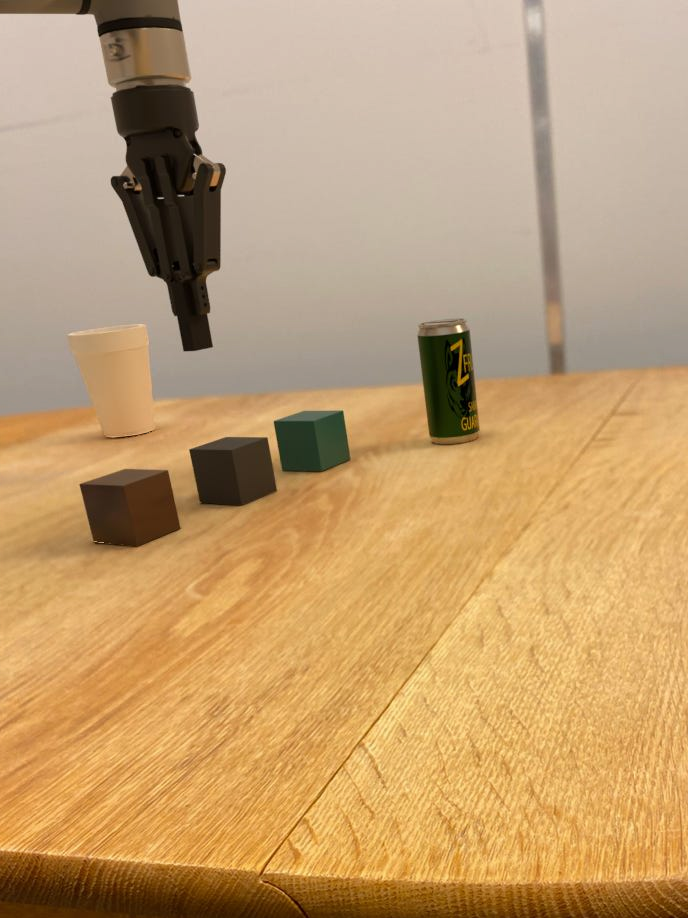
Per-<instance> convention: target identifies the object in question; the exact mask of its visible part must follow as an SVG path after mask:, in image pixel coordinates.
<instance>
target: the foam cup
mask: <svg viewBox="0 0 688 918" xmlns="http://www.w3.org/2000/svg"><path fill="white" fill-rule="evenodd" d="M147 329H148V328H147V325H146V324H143V323H137V324H124V325H114V326H106V327H98V328H91V329H86V330H80V331H74V332H71V333H68V334H67V335H66V336H67V340H68V344H69V345H68V346H69V348H70V353H71V355H73V357H74V359H75V362H76V365H77V367H78V370H79V373H80V375H81V378H82V381H83V383H84V386H85V388H86V389H85V390H87V394H88V396H89V399H90V402H91V405H92V407H93V411H94V412H95V415H96V418H97V420H98V423H99V426H100V429H101V431H102V433H103V436H104V435H106V436H125V435H132V434H139V433H143V432H147V431H150V430H153V429H154V428H155V429H156V427H155V424H156V421H155V412H154V411H155V408H154V397H153V387H152V375H151V361H150V351H149V350H150V349H149V345H150V339H149V333H148V330H147Z"/></svg>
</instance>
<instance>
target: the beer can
mask: <svg viewBox="0 0 688 918" xmlns="http://www.w3.org/2000/svg"><path fill="white" fill-rule="evenodd" d="M417 324H418V325H417V326H418V331H417V334H416V336H417V343H418V352H419V361H420V369H421V377H422V387H423V394H424V395H423V396H424V403H425V412H426V420H427V429H428V435H429V437H430V440H431V441H432V443H434V444H436V445H457V444H464V443H469V442H472V441H474V440H476V439H478V437H479V434H480V430H481V429H480V428H481V427H480V421H479V420H480V418H479V408H478V398H477V389H476V381H475V379H476V378H475V369H474V368H475V367H474V360H473V349H472V341H471V330H470V327H469V326H468V324H467V318H446V319H445V318H444V319H436V320H429V321H425V322H420V323H417Z"/></svg>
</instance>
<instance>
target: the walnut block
mask: <svg viewBox="0 0 688 918" xmlns="http://www.w3.org/2000/svg"><path fill="white" fill-rule="evenodd" d="M78 485H79V488H80V492H81V497H82V500H83V505H84V509H85V511H86V516H87V517H86V518H87V521H88V525H89V529H90V532H91V537H92V540H93V542H94V541H97V542H104V543H111V544H110V545H113V544H123V545H122V546H126V545H130V546H129V547H139V546H142V545H144V544H147V543H149V542H151V541H154V540H156V539H158V537H159V538H162V537H164V536H166V535H168V534H171V533H173V532H176V531H178V530H180V529H181V524H180V519H179V518H180V517H179V514H178V509H177V503H176V501H175V500H176V499H175V495H174V491H173V487H172V482H171V477H170V471H169V470H168V469H146V468H145V469H141V468H123V469H120V470H117V471H115V472H111V473H108V474H105V475H101V476H99V477H97V478H94V479H90V480H87V481H84V482H82V483H79V484H78ZM170 532H171V533H170ZM153 539H154V540H153ZM146 542H147V543H146ZM131 545H132V546H131Z"/></svg>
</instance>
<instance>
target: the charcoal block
mask: <svg viewBox="0 0 688 918" xmlns="http://www.w3.org/2000/svg"><path fill="white" fill-rule="evenodd" d="M270 448H271V447H270V444H269V437H268V436H267V437H266V436H224V437H221V438H218V439H216V440H213V441H210V442H206V443H204V444H201V445H198V446H195V447H192V448H189V449H188V451H189V455H190V460H191V466H192V470H193V476H194V480H195V484H196V490H197V495H198V500H199V503H200V502H201V503H200V504H204V503H214V504H213V505H224V504H227V505H226V506H245V505H247V504H250V503H251V502H254V501H256V500H258V499H260V498H261V499H262V498H263V497H265V496H268V495H270V494H272V493H275V492H277V491H278V488H277V483H276V477H275V471H274V466H273V460H272V455H271V454H272V453H271V449H270Z"/></svg>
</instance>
